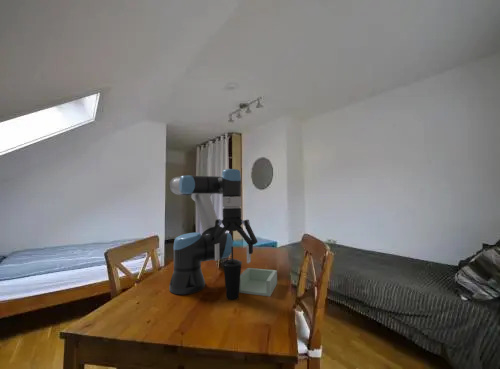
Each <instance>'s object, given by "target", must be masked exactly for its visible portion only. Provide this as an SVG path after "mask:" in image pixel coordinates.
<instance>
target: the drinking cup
mask: <svg viewBox="0 0 500 369" xmlns="http://www.w3.org/2000/svg"><path fill="white" fill-rule="evenodd" d="M230 256H231V258H230V259H229V258H228V259H227V260H224V261H223V262H222V265H223V271H224V272H223V273H224V283H225V294H226V296H225V297H226V300H229V301H235V300H239V297H240V296H239V295H240V293H239V287H240V275H241V274H242V273H241V272H242V271H241V270H242V265H243V261H241V260H239V259H236V258H234V246H231V254H230Z"/></svg>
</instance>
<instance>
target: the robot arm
mask: <svg viewBox="0 0 500 369" xmlns="http://www.w3.org/2000/svg"><path fill="white" fill-rule="evenodd" d="M168 189H169V191H170V192H171V193H172V194H174V195H175V196H181V197H190V198H191V199H192V201H194V202H195V205H196V209H197V212H198V217H199V220H200V224H201V228H202V231H203V232H202V233H201V232H197V231H195V232H188V233H184V234H181V235H179V236H177V237H175V238H174V242H173V248H172V249H173V272H172V276H171V279H170V281H169V288H168V289H169V290H168V291H169V292H170V293H172V294H174V295H190V294H196V293H199V292H200V291H202V290H204V289H205V287H206V280H205V278H204V274H203V272H202V262H203V263H204V262H209V261H215V262H217V261H219V260H222V259H223V260H224V259H226V258H229V257H230V256H231V246H233V242H234V241H233V237H232V234H231V231H232V232H237V233H239V235H240V236H241V237H242V239H243V240H244V241H245V242H246V243H247V244H246V264H250V263H251V261H252V257H251V256H252V254H253V253H254V245H256V244H257V243H258V239H257V238H256V235H255V233H254V230H253V229H252V227H251V225H250V224H251V223H250V220H249V219H244V220H242V219H243V218H242V208H241V207H242V176H241V171H240V169H235V168H226V169H223V170H222V173H221V176H215V175H213V176H211V175H210V176H207V175H206V176H205V175H190V174H187V175H180V176H174V177H173V178H171V179H170V180H169V183H168ZM213 194H215V195H222V207H223V208H222V219H221V218H219V219H218V217H217V213H216V211H215V208H214V205H213V200H212V198H211V196H212V195H213ZM222 225H223V227H222ZM242 225H243V226H244V227H245V230H244V229H243V227H242ZM245 231H246V232H247V233H248V234H247V233H246V232H245ZM233 247H234V246H233Z"/></svg>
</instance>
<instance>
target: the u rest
mask: <svg viewBox="0 0 500 369" xmlns="http://www.w3.org/2000/svg"><path fill="white" fill-rule="evenodd" d="M277 284H278V270H275V269H268V268H267V269H265V268H256V267H255V268H254V267H253V268H252V267H247V268H246V269H245V270H244V271H242V273H241V274H240V287H239V294H247V295H253V296H254V295H255V296H256V295H257V296H262V297H263V296H264V297H271V295H273V294H272V293H273V292H274V290H275V288H276V286H277Z"/></svg>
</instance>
